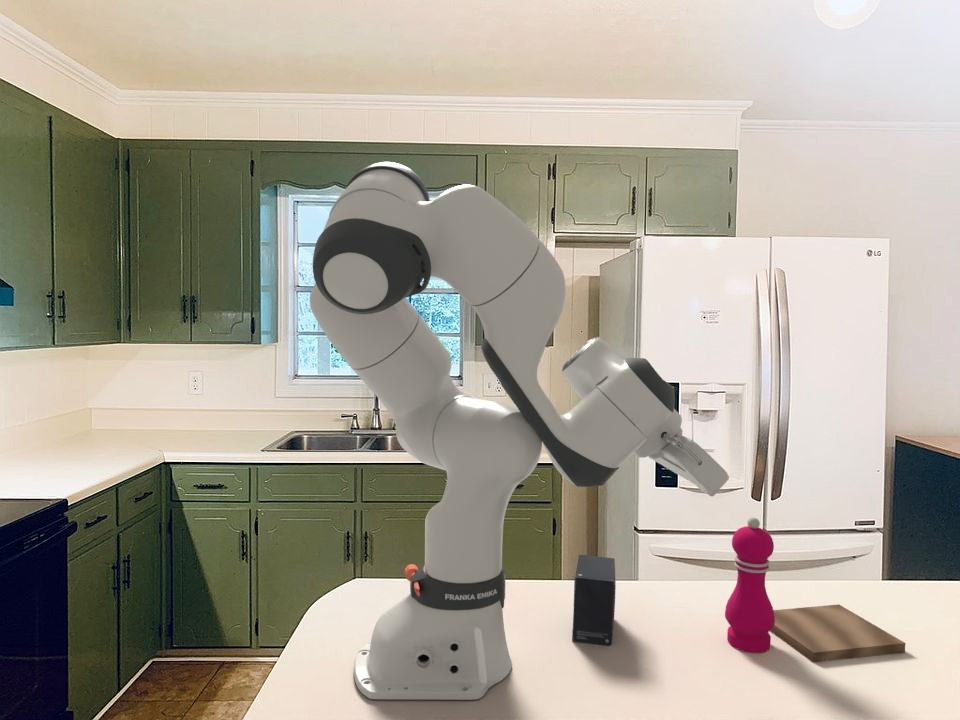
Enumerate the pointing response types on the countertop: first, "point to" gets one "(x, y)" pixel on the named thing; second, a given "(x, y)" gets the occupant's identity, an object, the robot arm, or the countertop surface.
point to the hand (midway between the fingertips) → (711, 490)
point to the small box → (594, 600)
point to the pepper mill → (750, 591)
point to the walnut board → (832, 634)
